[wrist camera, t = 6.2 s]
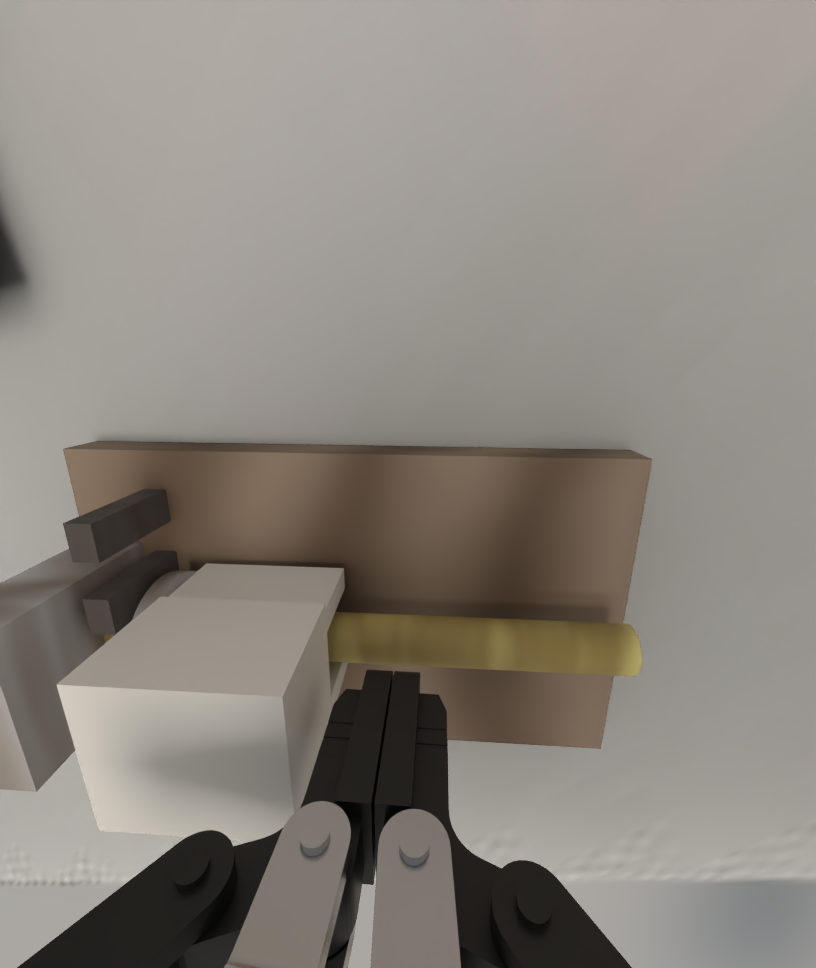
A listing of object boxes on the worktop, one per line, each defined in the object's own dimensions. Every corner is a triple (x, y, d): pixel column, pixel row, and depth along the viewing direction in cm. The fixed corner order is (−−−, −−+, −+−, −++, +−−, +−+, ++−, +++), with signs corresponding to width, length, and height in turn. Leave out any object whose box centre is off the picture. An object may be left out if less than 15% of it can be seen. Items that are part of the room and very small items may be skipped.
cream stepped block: (343, 563, 14) (282, 696, 9) (348, 667, 16) (297, 845, 10) (205, 558, 15) (56, 685, 9) (221, 661, 16) (98, 830, 10)
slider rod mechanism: (630, 450, 15) (798, 523, 8) (587, 718, 18) (678, 929, 11) (96, 441, 16) (-155, 498, 9) (151, 694, 19) (-3, 872, 12)
